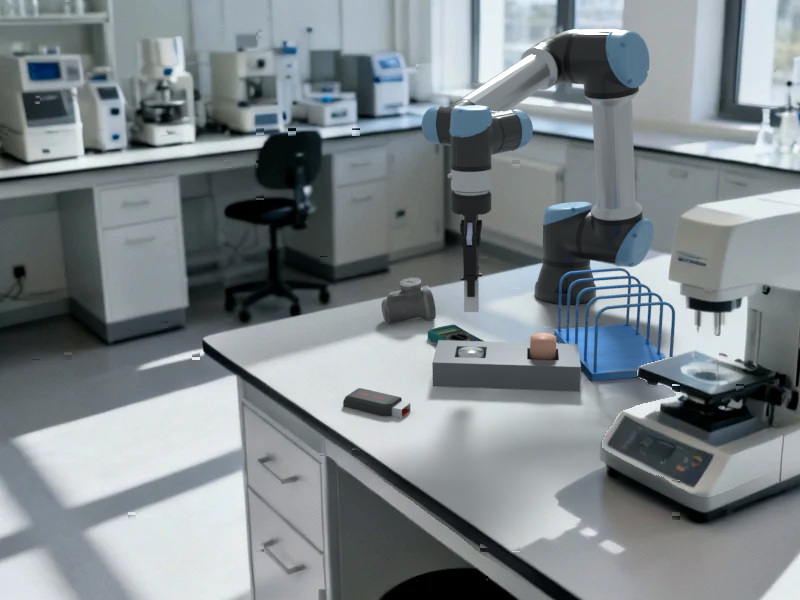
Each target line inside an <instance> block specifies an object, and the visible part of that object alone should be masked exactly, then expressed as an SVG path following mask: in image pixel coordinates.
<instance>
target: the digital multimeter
mask: <svg viewBox="0 0 800 600" xmlns="http://www.w3.org/2000/svg"><path fill="white" fill-rule="evenodd" d="M427 340H428V341H430V342H432V343H434V344H436V345H437V344H438V340H450V341H484V340H483V339H481V338H479V337H477V336H476V335H473V333H470V332H468V331H466V330H464V328H462V327H459V326H458V325H456V324H449V325H442V326H438V327H434V328H431V329H430V330H428V331H427Z"/></svg>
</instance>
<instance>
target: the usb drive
mask: <svg viewBox="0 0 800 600" xmlns="http://www.w3.org/2000/svg"><path fill="white" fill-rule="evenodd" d="M342 407H343V408H347V409H351V410H355V411H359V412H363V413H367V414H372V415H374V416H379V417H390V418H391V417H396V418H400V419H402V418H404V417H405V416H407V415H408V414H409V413H411V403H410V402H407V401H403V400H402V397H401V396H397V395H392V394H389V393H384V392H379V391H375V390H371V389H365V388H361V387H358V388H357V389H355V390H353V391H352V392H350V393H349V394H347V395H345V397H344V399H343V401H342Z"/></svg>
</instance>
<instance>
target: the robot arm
mask: <svg viewBox="0 0 800 600" xmlns="http://www.w3.org/2000/svg"><path fill="white" fill-rule="evenodd" d="M649 70H650V53H649V49H648V45H647V43H646V41H645V39H644V38H643V37H642V36H641V35H640V34H639V33H638V32H636V31H635V30H634V31H633V30H628V29H627V30H625V29H620V28H606V29H605V28H604V29H603V28H601V29H599V28H598V29H595V28H594V29H590V28H589V29H581V28H580V29H579V28H578V29H577V28H575V29H569V30H568V29H567V30H565V31H561V32H559V33H556V34H554V35H552V36H549V37H547V38H545V39H544V40H541V41H540V42H538V43H536V44H534V45H533V46H531V47H529V48H528V49H527V50H525V51H524V52H523V54H522V55H521V57H520V60H518V61H517V62H515V63H514V64H512V65H511V66H509V67H508V68H506V69H505V70H503V71H501V72H499V73H498V74H497V75H495V76H494V77H491V79H489V80H488V81H486V82H484V83H483V84H481V85H480V86H478V87H476V88H475V89H473V90H472V91H470V92H469V93H468V94H466V95H464V96H463V97H461V98H459V99H457V100H456V101H455V102H453V103H451V104H450V105H448V106H444V105H438V106H437V105H436V106H431V107H429V108H428V109H427V110H426V111H425V112H424V114H423V115H422V119H421V130H422V131H421V133H422V135H423V137H424V139H425V140H426V141H428V142H429V143H431V144H436V145H440V146H441V147H445V146H449V147H450V173H448V174H447V178H448V179H451V180H450V188H451V190H452V192H451V194H450V209H451V212H452V213H454V214H455V215H461V216H463V217H464V218H463V219H461V221H460V224H459V228H460V229H459V230H460V231H459V232H460V233H461V246H462V254H463V256H462V258H463V260H462V261H463V264H462V265H463V276H460V281H463V291H464V292H463V304H464V305H463V308H464V309H463V312H464V313H479V310H480V306H479V305H480V301H479V300H480V299H479V294H480V293H479V290H480V287H479V285H480V284H479V282H480V277H482V278H483V272H479V270H480V266H479V263H480V262H479V261H480V259H479V257H480V255H479V254H480V245H481V240H482V237H481V236H482V234H481V233H482V228H483V220H482V219H479V215H481V216H482V215H487V214H488V213H490V212H491V211H492V192H491V191H490V190H491V189H492V188H493V187H492V185H493V183H492V182H493V181H492V180H493V179H492V178H493V177H492V176H493V175H492V174H493V173H492V171H493V168H492V155H496V154H502V153H506V152H510V151H511V152H514V151H516V150H519V149H520V148H523V147H525V146H527V145H528V143H529V142H530V141H531V139H532V136H533V132H534V128H533V127H534V126H533V122H532V119H531V118H530V116H529V115H528V114H527V113H526V112H525V111H524V110H520V109H513V108H515V107H516V106H517V105H519V104H520V103H522V102H523V101H524V100H526V99H528V98H529V97H530V96H532V95H534V94H535V93H536V92H538V91H540V90H541V91H545V90H548V89H550V88H552V87H553V86H555V85H562V84H563V85H564V84H570V85H571V84H573V85H583V95H584V98H585V99H587V100H588V101H589V102H590V103H591V111H592V112H591V114H592V130H593V131H592V133H593V148H594V149H593V151H594V169H595V171H594V173H595V186H596V187H595V188H596V189H595V190H596V192H595V193H596V204H595V205H593V203H592V202H591V203H590V202H589V201H588V202H587V201H571V202H564V203H557V204H553V205H550V206H548V207H547V208H545V209H544V212H543V221H542V264H541V268H540V271H539V275H538V277H537V281H535V284H534V292H533V293H534V297H536V298H537V299H539V300H540V301H543V302H547V303H550V304H558V305H559V283H560V280H561V278H562V276H563V275H565V274H566V273H568V272H572V271H583V270H592V269H591V261H593V262H600V263H602V264H603V263H604V264H608V265H614V266H616V267H627V268H635V267H636V266H638V265H639V264H641V263H642V262H643V261H644V259H645V258H646V257H647V255H648V252H649V251H650V248H651V247H652V243H653V237H654V223H652V221H651V220H650V219H648V218H646V217H645V218H644V217H643V214H644V213H643V207H642V205H641V204H640V203H639V202H638V201H636V186H635V185H636V183H635V181H636V179H635V154H634V153H635V151H634V124H633V122H634V121H633V119H634V117H633V99H634V98H635V97H636V95H638V93H639V91H640V87H641V86H642V85H643V84H644V83H645V82H646V81H647V77H648V76H649V75H648V71H649ZM587 278H594V276H593V273H581V274H571V275H568V276H567V277H566V278H565V279H564V280H563V283H562V296H561V305H567V294H568V288H569V286H570V285H571V284H572V283H573V282H574V281H576V280H578V279H587ZM590 287H597V285H596V283H595V281H587V282H579V283H577V284H575V285H574V286H573V287H572V289H571V294H570V305H576V299H577V296H578V294H579V293H580V292H581V291H582V290H583V289H585V288H590ZM596 295H597V290H590V291H586V292H585V293H583V294H582V295H581V297H580V299H579V304H584V303H589V301H590V300H591V299H593V298H595V297H597V296H596Z"/></svg>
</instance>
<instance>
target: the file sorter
mask: <svg viewBox="0 0 800 600" xmlns="http://www.w3.org/2000/svg"><path fill="white" fill-rule="evenodd" d="M604 272H605V273H606V272H608V273H609V272H624V273H625V274H626V275H620V276H619V275H618V276H616V275H615V276H604V277H602V276H601V277H600V276H599V277H593V278H587V279H578V280H576V281H574V282H573V283H572V284H571V285H570V286H569V288H568V294H567V304H566V328H562V304H561V296H562V283H563V280H564V279H565V278H566V277H567V276H568V275H571V274H581V273H592V274H593V273H604ZM623 279H624V280H626V279H628V280H627V281H628V282H627V283H628V284H617V285H616V284H615V285H604V286H596V287H590V288H585V289H583V290H582V291H581V292H580V293H579V294H578V296H577V299H576V304H575V317H574V319H575V321H574V322H575V325H574V327H570V316H571V315H570V314H571V313H570V312H571V304H570V294H571V289H572V287H573V286H574V285H575V284H577V283H579V282H587V281H594V282H596V281H597V282H598V281H609V280H610V281H612V280H623ZM632 280H635V281H636V282H637V283H633V284H632ZM623 288H625V289H627V293H624V294H623V293H622V294H611V295H608V294H607V295H599V296H598V295H597V296H596V297H595V298H593V299H591V300H590V301H589V302H587V303H586V307H585V317H584V318H585V319H584V326H582V327H579V315H580V314H579V313H580V303H579V299H580V297H581V295H582V294H583V293H585V292H586V291H590V290H596V291H600V290H611V289H623ZM632 288H638V292H637V293H636V292H635V293H634V292H633V293H631V289H632ZM642 288H645V289H646V290H647V292H642ZM646 296H647V297H648V299H647V300H648V301H647V302H642V297H646ZM653 296H654V297H656V298H658V300H659V301H652V297H653ZM631 297H634V298H635V297H637V303H631ZM620 298H627V299H626V304H616V305H615V304H614V305H608V306H604V307H603V308H601V309H600V310H599V311H598V312H597V314H596V316H595V320H594V322H595V323H594V325H591V326H589V312H590V307H591V305H592V304H593V303H594V302H596V301H598V300H599V301H600V300H608V299H620ZM664 305H665V306H667V307H669V308H670V310H671V323H670V324H671V326H670V340H669V341H670V342H669V357H674V356H673V355H674V342H675V341H674V339H675V325H676V310H675V306H673V305H672V304H671V303H669V302H667V301H663V298H662V296H661V295H659V294H658V293H656V292H652V290H651V288H650V286H648V285H646V284H644V283H641V281H640V280H639V278H637V277H636V276H633V275H631V274H630V272H629V271H628V270H627V269H625V268H621V267H614V268H612V267H611V268H600V269H599V268H598V269H597V268H596V269H591V270H583V271H572V272H568V273H566V274H565V275H563V276H562V278H561V280H560V283H559V304H558V309H557V310H558V314H557V315H558V316H557V329H554V331H553V335H555V336H556V341H558V344H578V348H579V356H580V364H581V371H583V372H584V374H585V375H586V376H587V377H588V378H589V380H590V381H592V382H597V381H607V380H615V379H618V380H619V379H627V378H638V377H637V370H638V367H639V366H641V365H644V364H647V363H651V362H655V361H658V360H662V359H665V358H669V357H667V356H666V355H665V354H663V352H661V347H662V345H661V344H662V331H663V330H662V329H663V316H664ZM652 306H659V317H658V334H657V347H656V346H655V345H653V343H652V342H650V335H651V333H650V331H651V317H652ZM636 307H637V309H636V323H635V327H634V326H632V324H630V310H631V309H630V308H636ZM641 307H647V321H646V323H647V324H646V325H647V326H646V337H645V336H644V335H643V334H641V333H640V332H639V331H640V318H641ZM624 308H626V316H625V323H619V324H606V325H599V319H600V316H601V314H602V313H604V312H605V311H607V310H608V311H609V310H615V309H624Z"/></svg>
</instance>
